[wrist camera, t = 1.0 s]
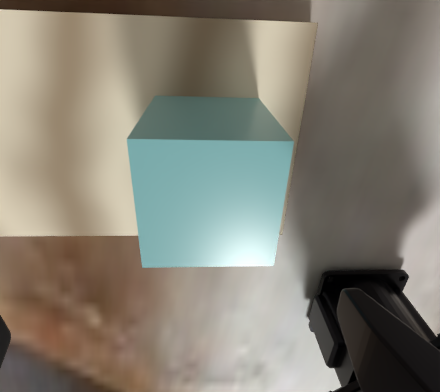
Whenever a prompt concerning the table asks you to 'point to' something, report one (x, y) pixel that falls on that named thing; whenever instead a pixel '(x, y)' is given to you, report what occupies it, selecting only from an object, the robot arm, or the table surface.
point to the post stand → (121, 103)
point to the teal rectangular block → (208, 181)
